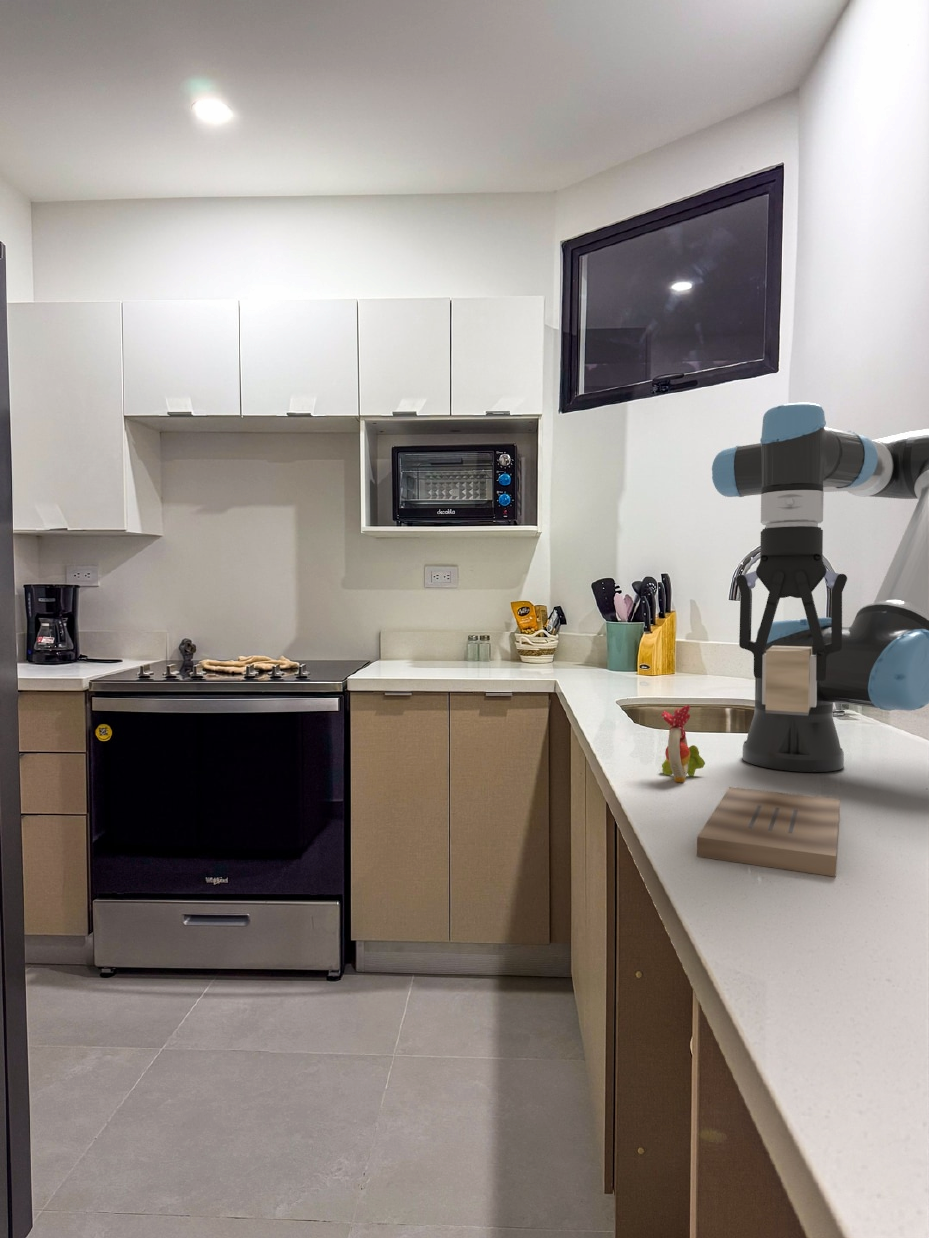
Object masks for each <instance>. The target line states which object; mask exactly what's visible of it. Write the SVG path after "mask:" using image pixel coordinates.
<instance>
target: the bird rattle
mask: <svg viewBox="0 0 929 1238" xmlns="http://www.w3.org/2000/svg"><path fill="white" fill-rule="evenodd" d="M690 710H691V705H689V704H687V705H684V706H683V707H681V708H677V709H675V710H674V713H673V715H672V714H671V713H669V712H667V711H665V710H664V711H663V712H662V713H661V715H660V716H661V718H662V719H663V720H664V721H665V722H666V723H667V724H669V726H671V727H670V728H669V731H668V732H669V733H668V741H667V747H666V748H665V759H664V761H663V762H662V764H661V769H662V772H663V774H664V775H665V776H671V775H673V780H674V782H676V783H684V782H685V780H686V777H687V775H688V776H689V777H693V776H695V772H696V771H697V769H703V768H704V767H705V765H706V762H705V760H704V758H703V757H701V755H700V751H699V748H698V747H697V746H696V745H693V744H692V745H690V746H688V740H687V733H686V729H685V727H684V726H685V725H686V724H687V723H688V721H689V719H690V717H691V714H690V713H689V712H690Z"/></svg>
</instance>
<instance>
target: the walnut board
mask: <svg viewBox="0 0 929 1238" xmlns="http://www.w3.org/2000/svg"><path fill="white" fill-rule="evenodd" d="M840 808H841V798H833V797H826V796H825V797H824V796H815V795H806V794H798V793H797V794H796V793H787V792H778V791H770V790H769V791H768V790H760V789H752V788H751V789H750V788H742V787H732V786H729V787H728V789H727V790H726V791H725V793H724V795H723V797H722V798H721V799H720V801H719V803H718V804H717V806H716V807H715V809H714V810H713V812H712V813H711V815H710V817H709V818H708V820H707V821H706V822H705V824H704V826H703V828H702V829H701V830H700V832H699V833H698V835H697V837H696V857H699V858H708V859H713V860H720V861H726V862H733V863H741V864H747V865H754V866H761V867H768V868H774V869H780V870H786V871H787V870H788V871H795V872H802V873H806V874H807V873H808V874H814V875H822V876H829V877H835V878H836V877H837V864H838V862H837V860H838V845H839V832H840V830H839V829H840V812H841V811H840V810H841V809H840Z"/></svg>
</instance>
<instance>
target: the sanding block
mask: <svg viewBox="0 0 929 1238" xmlns="http://www.w3.org/2000/svg"><path fill="white" fill-rule="evenodd" d="M811 655H812V647H803V646H771V647H770V648H769V649H768V650H766V708H765V713H772V714H788V715H805V716H808V714H809V711H810V708H811V707H809V691H810V656H811Z"/></svg>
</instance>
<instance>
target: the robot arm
mask: <svg viewBox="0 0 929 1238" xmlns="http://www.w3.org/2000/svg"><path fill="white" fill-rule="evenodd" d="M826 425H827V422H826V417H825V410H824V409H823V407H822V406H821V405H820V404H818V403H817V404H816V403H812V402H794V403H787V404H782V405H778V406H777V405H776V406H773V407H771V408H769V409H768V410H767V411H765V412H764V414H763V416H762V427H761V437H760V442H759V443H752V444H746V445H736V446H735V447H730V448H725V449H723V450H721V451H720V452H718V453H717V454H716V455H715V458H714V459H713V461H712V466H711V472H712V473H711V475H712V476H711V479H712V483H713V485H714V488H715V489H716V491H717V492H718V493H719V494H720V495H722V496H723V497H725V498H726V497H728V498H734V497H735V498H737V497H738V498H744V497H749V496H759V495H760V523H761V525H763V526H765V527H764V528H762V530H761V531H760V545H759V546H760V557H759V563H758V564H757V567H756V570H754V571H752V572H751V571H750V572H748V573H745V574H738V575H737V576H736V578H735V580H736V584H737V587H738V590H739V592H740V597H739V598H740V600H739V601H740V602H739V603H740V605H739V636H738V637H739V643H738V644H739V647H740V648H741V649H743V650H746V651H749V652H751V653H752V655H753V676H754V678H755V679H754V680H755V682H754V713H753V717H752V720H751V722H750V725H749V726H750V727H749V730H748V733H747V736H746V737H747V738H746V739H745V740H744V742H743V744H742V757H741V759H742V760H743V761H744V762H746V763H749V764H751V765H755V766H757V767H763V768H767V769H774V770H780V771H786V772H787V771H788V772H789V771H790V772H803V773H805V772H806V773H821V772H822V773H823V772H825V773H826V772H827V773H828V772H834V771H838V770H841V769H844V765H845V764H844V763H845V753H844V750H843V748H842V747H841V744H840V740H839V735H838V732H837V728H836V725H835V722H834V716H833V714H834V712H833V710H834V705H833V704H834V703H835V704H843V705H850V706H851V705H852V706H858V707H859V706H860V707H867V708H875V709H880V710H882V711H890V712H891V711H908V712H909V711H910V712H911V711H916V710H920V709H922V708H924V707H926V706H927V705H929V428H926V429H920V430H912V431H907V432H902V433H898V434H894V435H890V436H885V437H882V438H881V437H880V438H877V439H870V438H868V437H867V436H865V435H862V434H858V433H856V432H855V431H852V430H841V429H836V428H831V427H830V428H829V427H826ZM831 492H832V493H834V492H836V493H837V492H847V493H848V494H851V495H852V496H855V497H871V498H872V497H873V498H874V497H875V498H885V499H887V498H889V499H900V500H901V499H902V500H903V499H904V500H916V499H917V501H918V502H917V503H916V506H915V507H914V510H913V513H912V514H911V517H910V519H909V522H908V523H907V524H908V525H907V526H906V528H905V531H904V532H903V535H902V538H901V539H900V541H899V544H898V546H897V549H896V551H895V554H894V556H893V558H892V561H891V563H890V565H889V567H888V569H887V572H886V574H885V576H884V579H883V581H882V582H881V585H880V588H879V590H878V592H877V594H876V596H875V599H874V601H873V603H869V604H865V605H864V606H862V607H861V608H860V609H859V610H858V611H857V613H856V616H855V617H854V620H853V621H852V624H851V626H849V627H846V626H845V627H843V591H844V589H845V587H846V584H847V581H848V576H847V574H845V573H838V572H836V571H835V572H834V571H831V570H828V569H827V567H826V565H825V563H824V560H823V555H824V553H823V547H824V546H823V544H824V543H823V541H824V535H823V534H824V530H823V529H822V527H819V525H818V524H822V523H823V521H824V493H831ZM824 578H825V579H826V581H827V583H826V584H827V587H828V588H830V589H831V595H830V597H831V598H830V601H831V604H830V605H831V607H830V608H831V609H830V610H831V616H830V617H819V616H818V613H817V612H818V611H817V608H816V604H815V601H814V596H813V591H814V590H815V589H816V587H817V586H818V585H819V584H820V583H821V582H822V580H823V579H824ZM758 579H759V580H760V582H761V584H763V586H764V587H765V588H766V589H767V591H768V592H769V593H768V596H767V599H766V604H765V608H764V612H763V615H762V618H761V621H760V625H759V628H758V629H757V631H756V638H755V641H753V640H752V619H753V617H752V616H753V614H752V612H753V607H752V606H753V590H752V589H754V588H755V587H756V581H757V580H758ZM789 597H792V598H795V599H801V602H802V605H803V608H804V613H805V617H806V618H799V619H798V618H797V619H786V620H785V619H784V620H778V621H774V619H775V617H776V612H777V608H778V605H779V602H780V600H781V599H782V598H783V599H784V598H789ZM771 646H803V647H812V655H811V656H810V691H809V707H811V708H810V711H809V714H808V716H805V715H788V714H772V713H765V708H766V650H768V649H769V648H770V647H771Z"/></svg>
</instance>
